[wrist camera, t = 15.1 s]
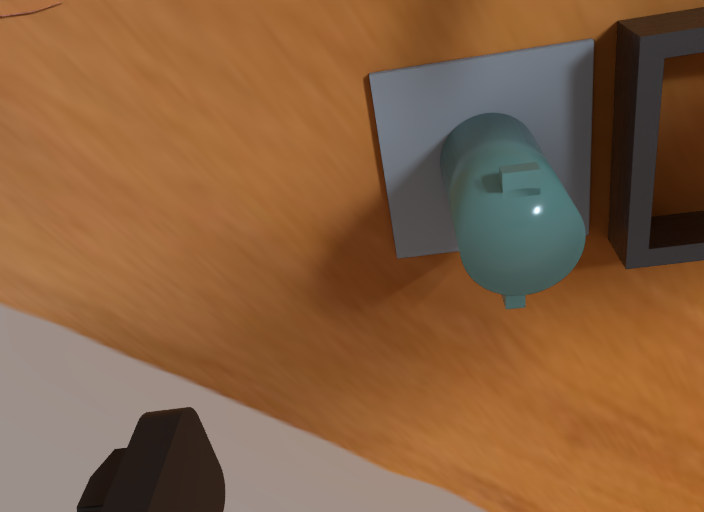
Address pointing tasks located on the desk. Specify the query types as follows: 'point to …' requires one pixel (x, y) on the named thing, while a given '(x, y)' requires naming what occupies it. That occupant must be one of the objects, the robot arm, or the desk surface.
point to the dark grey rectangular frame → (648, 142)
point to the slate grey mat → (470, 100)
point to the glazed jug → (508, 208)
